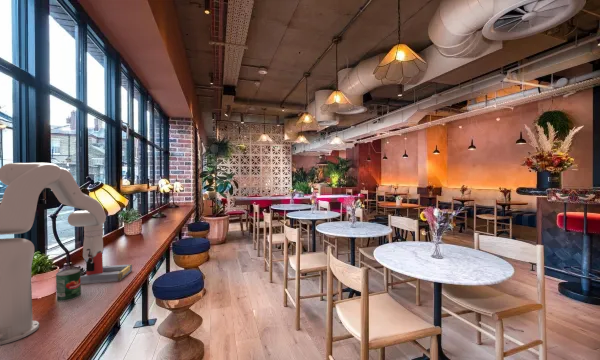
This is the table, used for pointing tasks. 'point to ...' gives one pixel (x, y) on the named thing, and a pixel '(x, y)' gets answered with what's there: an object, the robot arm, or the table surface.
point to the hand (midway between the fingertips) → (94, 268)
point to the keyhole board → (108, 274)
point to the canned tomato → (68, 284)
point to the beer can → (97, 264)
